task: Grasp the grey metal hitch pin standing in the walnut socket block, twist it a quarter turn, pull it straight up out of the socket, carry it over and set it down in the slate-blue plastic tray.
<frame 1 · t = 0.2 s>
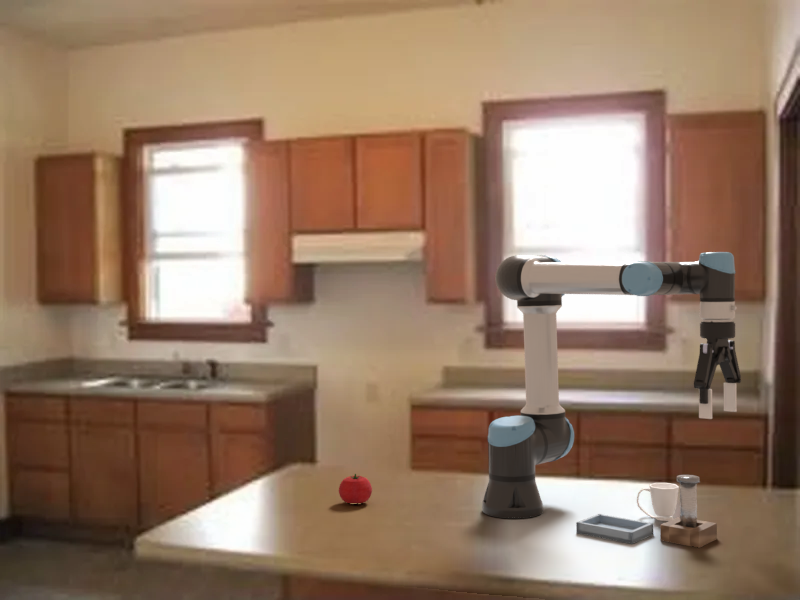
hand: (718, 414, 208), 27 cm above the counter, fingers open, 13 cm apart
tray: (614, 533, 211), on the counter
cup: (658, 519, 224), on the counter
pin: (688, 508, 205), in the socket block
socket block: (688, 539, 205), on the counter
tomato: (355, 504, 244), on the counter
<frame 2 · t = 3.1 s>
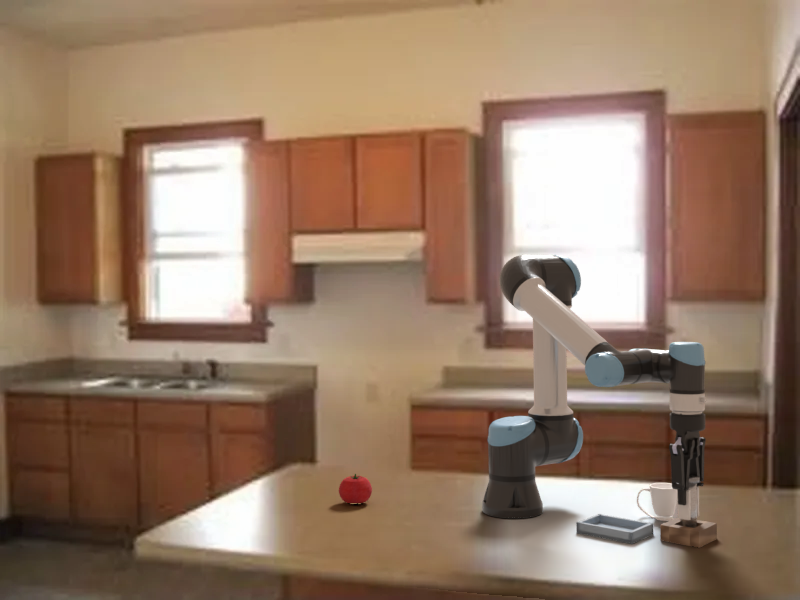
hand: (688, 516, 205), 5 cm above the counter, fingers closed on pin, 4 cm apart
pin: (688, 508, 205), in the socket block, touching gripper
everything else where it was.
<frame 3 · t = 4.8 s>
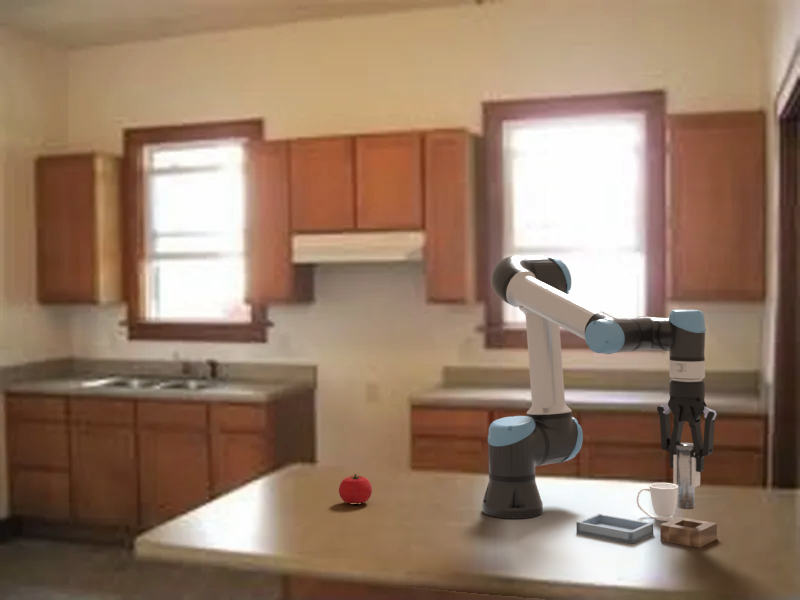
hand: (686, 484, 205), 12 cm above the counter, fingers closed on pin, 4 cm apart
pin: (686, 476, 205), point 14 cm above the counter, touching gripper
everything else where it was.
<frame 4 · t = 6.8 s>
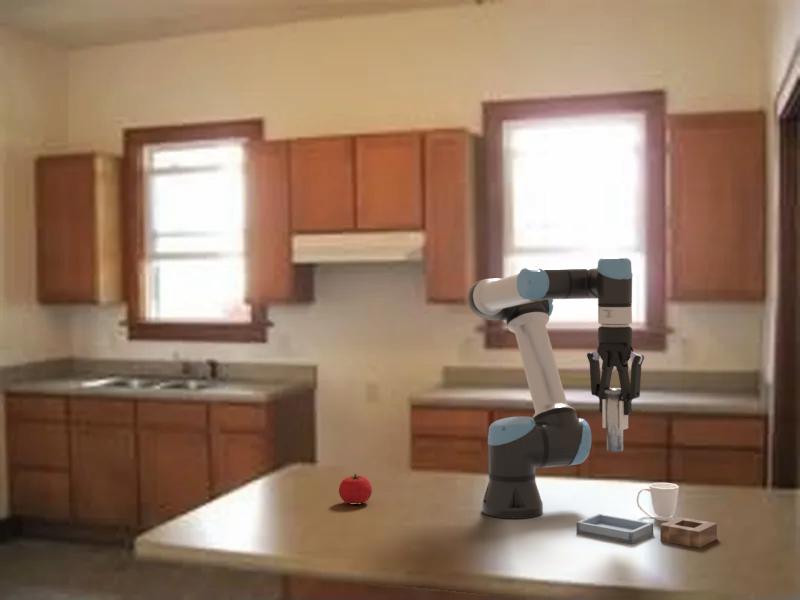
hand: (615, 427, 211), 24 cm above the counter, fingers closed on pin, 4 cm apart
pin: (614, 419, 210), point 26 cm above the counter, touching gripper
everything else where it was.
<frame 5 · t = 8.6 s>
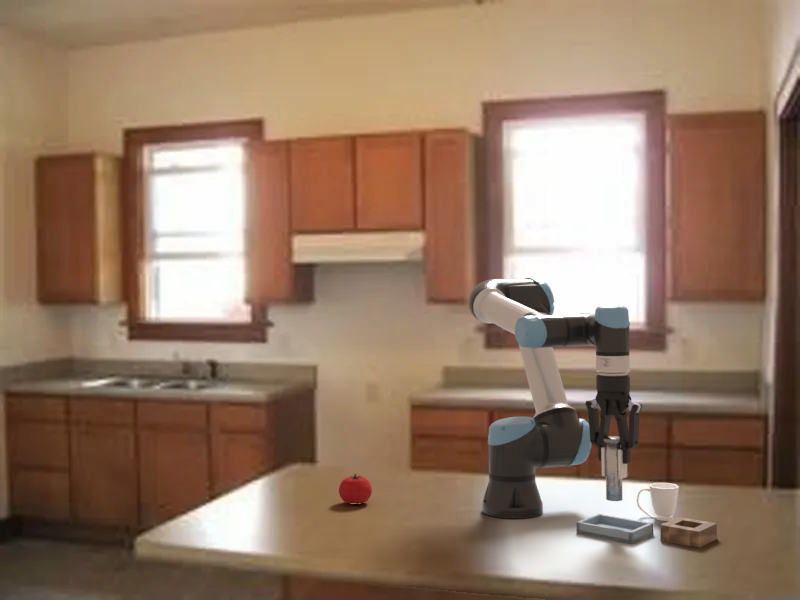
hand: (614, 476, 211), 13 cm above the counter, fingers closed on pin, 4 cm apart
pin: (613, 468, 210), point 15 cm above the counter, touching gripper
everything else where it was.
when the fingers open (7 cm above the counter, at t = 10.3 s): pin stays where it is, resting on tray.
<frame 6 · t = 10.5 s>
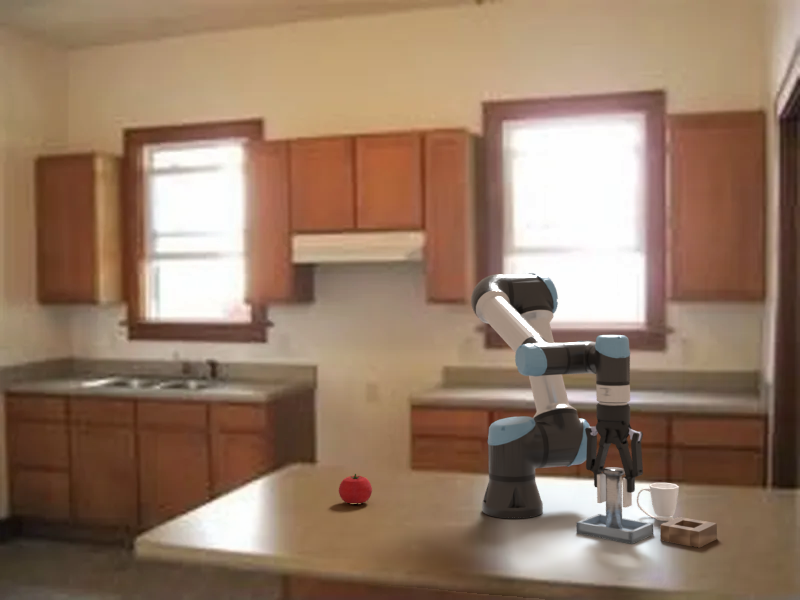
hand: (614, 503, 211), 7 cm above the counter, fingers open, 6 cm apart
pin: (613, 499, 211), in the tray, point 8 cm above the counter
everything else where it was.
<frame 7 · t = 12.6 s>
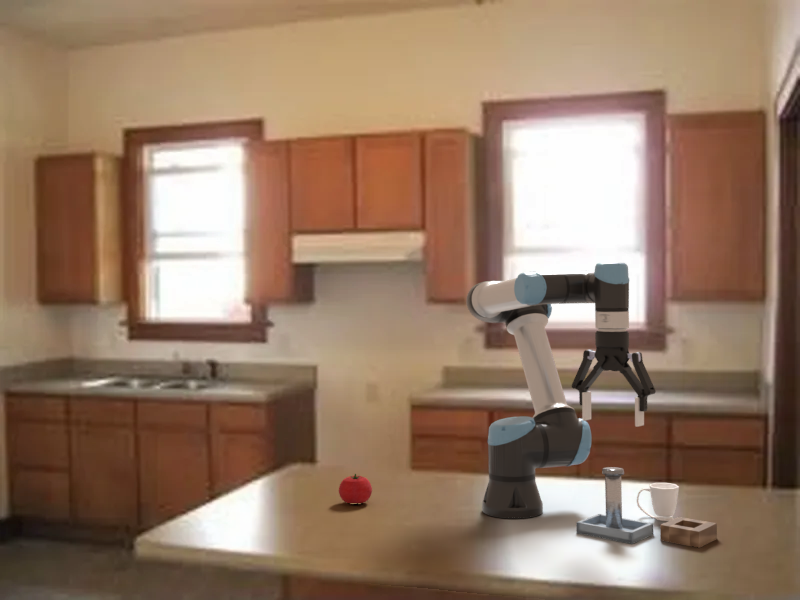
hand: (612, 422, 211), 25 cm above the counter, fingers open, 13 cm apart
nothing on the counter moved.
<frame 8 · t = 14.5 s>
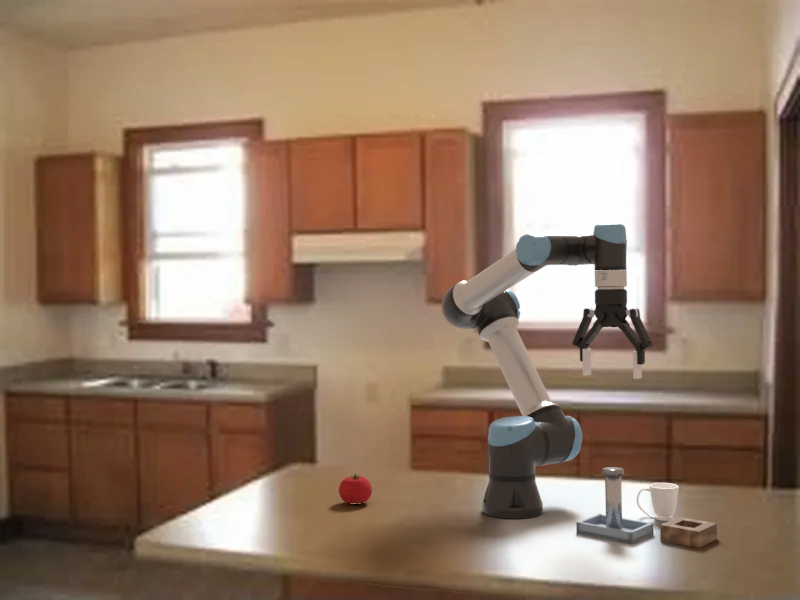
hand: (611, 376, 222), 35 cm above the counter, fingers open, 13 cm apart
nothing on the counter moved.
at the end: pin inside the target area on the tray (0.2 cm from its centre), point 7.8 cm above the tray's base; pin touching tray; the gripper is holding nothing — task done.
